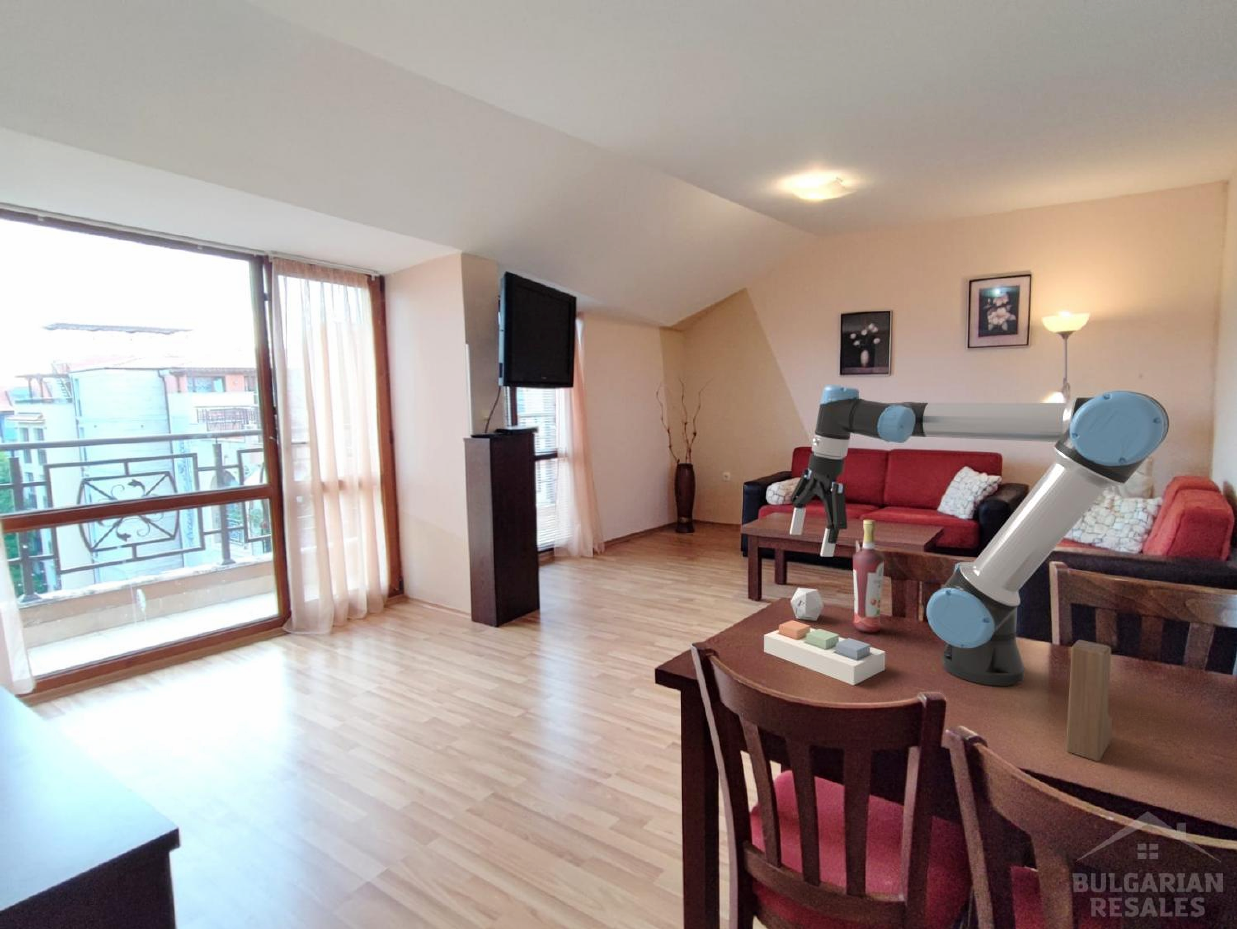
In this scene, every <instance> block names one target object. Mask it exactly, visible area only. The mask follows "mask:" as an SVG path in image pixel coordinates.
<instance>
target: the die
mask: <svg viewBox="0 0 1237 929" xmlns="http://www.w3.org/2000/svg"><path fill="white" fill-rule="evenodd" d="M790 605H791V608H792V610H793V613H794V615H795V619H798V620H806V621H815V622H816V621H818V618H819V616H820V615H821V613H822V611H823V609H824V603H823V600H822V598H821V595H820V593H819V590H818V589H816V588H815V589H814V588H806V587H805V588H804V587H798V588H797V589H796V591H795V593H794V595H793V596H792V598H791V600H790Z"/></svg>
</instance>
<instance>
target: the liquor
mask: <svg viewBox="0 0 1237 929" xmlns="http://www.w3.org/2000/svg"><path fill="white" fill-rule="evenodd" d="M862 527H863V532H864V534H863V539H862V540H863V541H862V548H861V550H858V551H857V552H855V553H854V554H853V555H852V569H853V570H852V572H853V575H852V576H853V599H854V600H853V602H854V606H853V607H854V614H853V615H854V618H853V619H854V620H853V622H852V625H853V626H854V627H855V628H856V629H857V630H858V631H859V632H862V633H868V634H869V633H871V634H872V633H876V632H877V631H878V630H880V629H881V628H882V627H883V626H882V623H881V622H880V621H881V605H882V604H881V602H882V593H883V592H882V591H883V590H882V589H883V579H884V566H885V557H884V555H882V554H881V553H880V552H877V551H876V546H875V545H876V544H875V534H874V533H875V528H876V521H875V520H874V519H863V526H862Z"/></svg>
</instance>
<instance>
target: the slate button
mask: <svg viewBox="0 0 1237 929" xmlns="http://www.w3.org/2000/svg"><path fill="white" fill-rule="evenodd" d="M844 639H845V640H843V641H841V642H838V643H836V654H838V655H841V656H844V657H847V658H850V659H853V660H856V661H859V660H861V659H863V658H865V657H867V656H870V647H871V644H869V643H866V642H863V641H861V640H857V639H854V638H850V637H848V638H844Z"/></svg>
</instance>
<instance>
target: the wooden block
mask: <svg viewBox="0 0 1237 929" xmlns="http://www.w3.org/2000/svg"><path fill="white" fill-rule="evenodd" d="M1070 653H1071V655H1070V669H1069V672H1070V673H1069V674H1070V675H1069V690H1068V709H1067V724H1066V725H1067V726H1066V743H1065V744H1066V745H1065V749H1066V752H1068V753H1070V754H1073V753H1074V755H1076V756H1080V757H1083V758H1085V759H1088V760H1091V761H1094V762H1100V761H1101V758H1102V757H1103V755H1104V753H1105V752H1106V750H1107V748H1108V747H1109V745H1110V743H1111V742H1112V741H1111V739H1112V728H1113V727H1112V726H1113V718H1112V716H1110V715H1108V714H1109V713H1108V712H1109V708H1108V707H1109V706H1108V705H1109V694H1110V693H1109V690H1110V688H1109V687H1110V677H1111V676H1110V674H1111V658H1112V647H1111V646H1110V645H1106V644H1102V643H1101V644H1100V643H1096V642H1093V641H1092V642H1091V641H1087V640H1083V639H1078V640H1076V642H1075V643H1074V644H1072V647H1071V651H1070Z"/></svg>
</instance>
